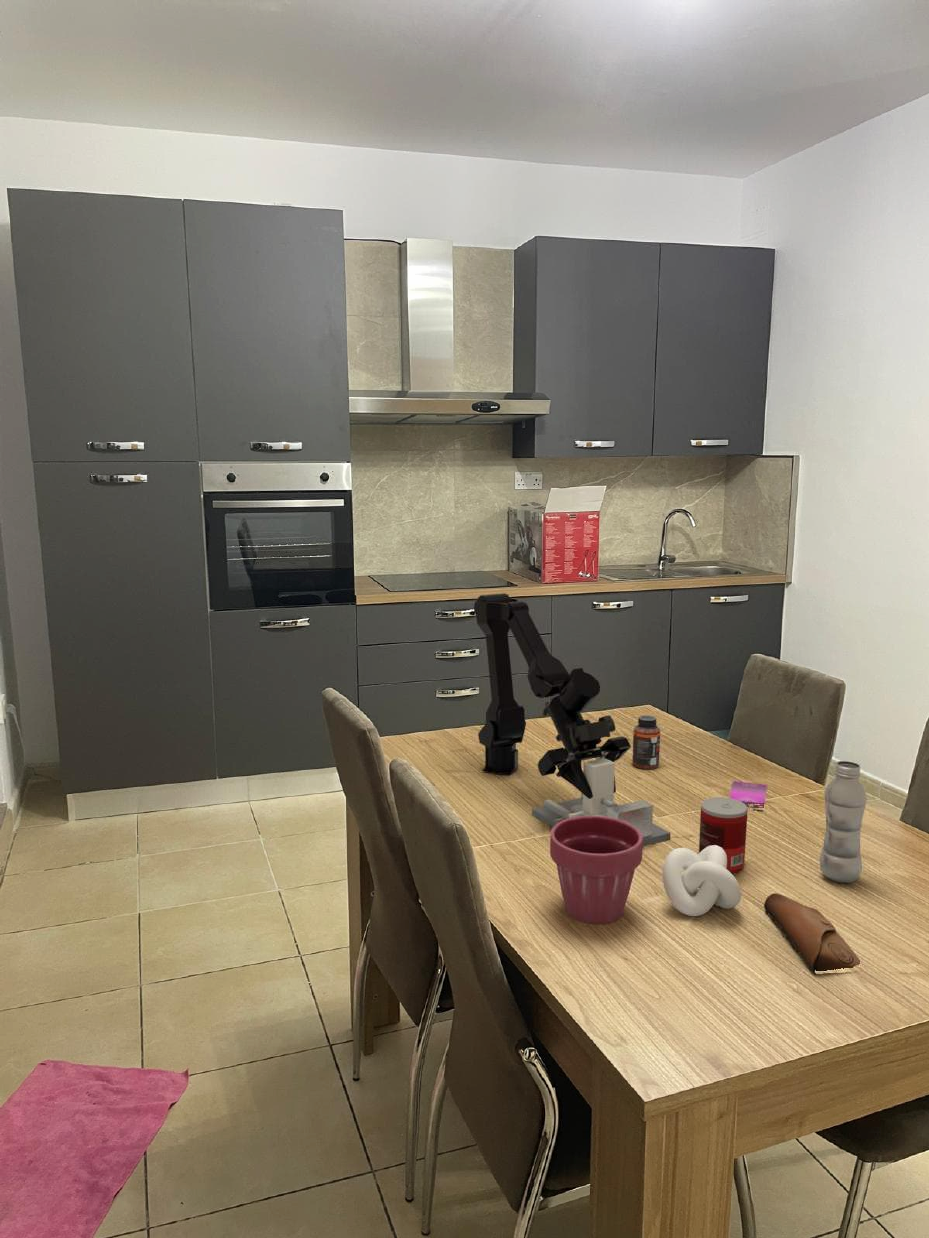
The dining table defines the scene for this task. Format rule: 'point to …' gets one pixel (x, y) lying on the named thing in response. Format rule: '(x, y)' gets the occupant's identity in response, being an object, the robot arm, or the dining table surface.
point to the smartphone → (749, 794)
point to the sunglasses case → (811, 934)
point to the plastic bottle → (843, 824)
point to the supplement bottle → (646, 743)
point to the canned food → (724, 829)
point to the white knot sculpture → (699, 880)
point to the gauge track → (561, 811)
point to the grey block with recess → (635, 815)
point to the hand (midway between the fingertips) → (602, 795)
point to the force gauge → (597, 789)
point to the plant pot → (595, 865)
